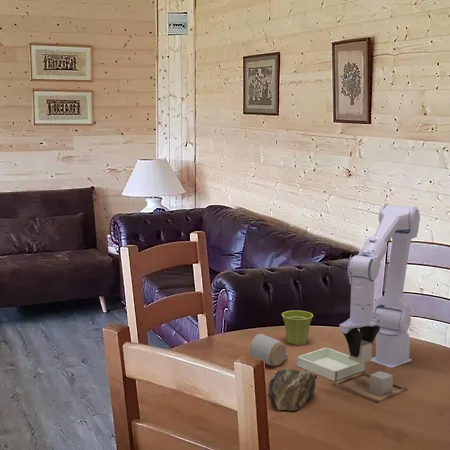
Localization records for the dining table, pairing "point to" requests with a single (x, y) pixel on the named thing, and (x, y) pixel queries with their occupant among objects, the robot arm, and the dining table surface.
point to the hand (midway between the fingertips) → (360, 354)
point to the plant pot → (297, 326)
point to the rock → (291, 388)
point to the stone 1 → (363, 352)
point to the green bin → (329, 364)
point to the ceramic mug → (268, 350)
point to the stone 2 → (381, 383)
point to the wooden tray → (365, 387)
